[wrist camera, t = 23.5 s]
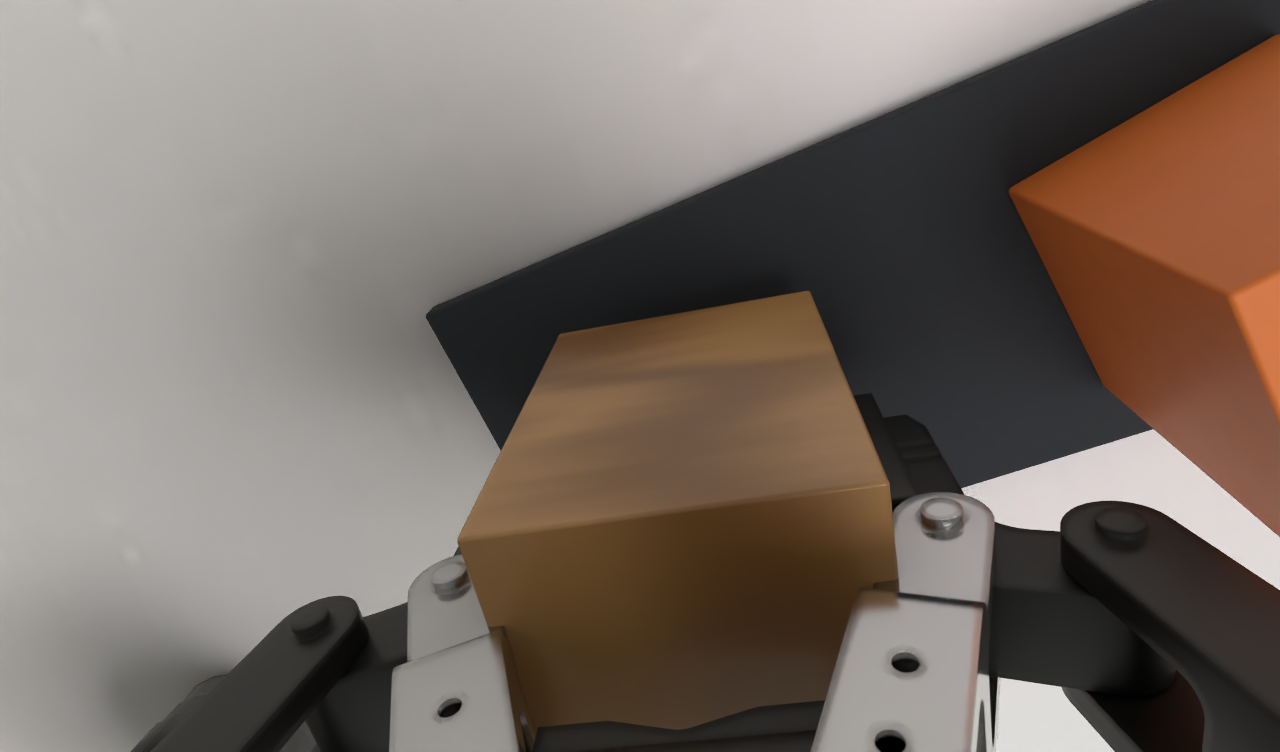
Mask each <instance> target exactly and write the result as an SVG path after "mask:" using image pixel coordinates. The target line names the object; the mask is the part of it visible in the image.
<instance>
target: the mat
mask: <svg viewBox="0 0 1280 752" xmlns="http://www.w3.org/2000/svg"><path fill="white" fill-rule="evenodd" d="M1275 35H1280V0H1153V1H1150V2H1148V3H1146V4H1143V5H1141V6H1139V7H1136V8H1134V9H1132V10H1129V11H1127V12H1125V13H1122V14H1120V15H1117V16H1115V17H1113V18H1110V19H1108V20H1106V21H1103V22H1101V23H1099V24H1096V25H1094V26H1092V27H1089V28H1087V29H1085V30H1082V31H1080V32H1078V33H1075V34H1073V35H1071V36H1068V37H1066V38H1064V39H1061V40H1059V41H1056V42H1054V43H1052V44H1049V45H1047V46H1045V47H1042V48H1040V49H1038V50H1035V51H1033V52H1031V53H1028V54H1026V55H1024V56H1021V57H1019V58H1017V59H1014V60H1012V61H1010V62H1007V63H1005V64H1003V65H1000V66H998V67H995V68H993V69H991V70H988V71H986V72H984V73H981V74H979V75H977V76H974V77H972V78H970V79H967V80H965V81H963V82H960V83H958V84H956V85H953V86H951V87H949V88H946V89H944V90H942V91H939V92H937V93H934V94H932V95H930V96H927V97H925V98H923V99H920V100H918V101H916V102H913V103H911V104H909V105H906V106H904V107H902V108H899V109H897V110H895V111H892V112H890V113H888V114H885V115H883V116H881V117H878V118H876V119H873V120H871V121H869V122H866V123H864V124H862V125H859V126H857V127H855V128H852V129H850V130H848V131H845V132H843V133H841V134H838V135H836V136H834V137H831V138H829V139H827V140H824V141H822V142H820V143H817V144H815V145H812V146H810V147H808V148H805V149H803V150H801V151H798V152H796V153H794V154H791V155H789V156H787V157H784V158H782V159H780V160H777V161H775V162H773V163H770V164H768V165H766V166H763V167H761V168H759V169H756V170H754V171H752V172H749V173H747V174H744V175H742V176H740V177H737V178H735V179H733V180H730V181H728V182H726V183H723V184H721V185H719V186H716V187H714V188H712V189H709V190H707V191H705V192H702V193H700V194H698V195H695V196H693V197H691V198H688V199H686V200H683V201H681V202H679V203H676V204H674V205H672V206H669V207H667V208H665V209H662V210H660V211H658V212H655V213H653V214H651V215H648V216H646V217H644V218H641V219H639V220H637V221H634V222H632V223H630V224H627V225H625V226H622V227H620V228H618V229H615V230H613V231H611V232H608V233H606V234H604V235H601V236H599V237H597V238H594V239H592V240H590V241H587V242H585V243H583V244H580V245H578V246H576V247H573V248H571V249H569V250H566V251H564V252H561V253H559V254H557V255H554V256H552V257H550V258H547V259H545V260H543V261H540V262H538V263H536V264H533V265H531V266H529V267H526V268H524V269H522V270H519V271H517V272H515V273H512V274H510V275H508V276H505V277H503V278H500V279H498V280H496V281H493V282H491V283H489V284H486V285H484V286H482V287H479V288H477V289H475V290H472V291H470V292H468V293H465V294H463V295H461V296H458V297H456V298H454V299H451V300H449V301H447V302H444V303H442V304H439V305H437V306H435V307H433V308H432V309H431V310H430V311H429V312H428V313H427V314H426V319H427V320H428V322H429V324H430V326H431V327H432V329H433V331H434V333H435V335H436V336H437V338H438V340H439V342H440V343H441V345H442V347H443V349H444V350H445V352H446V354H447V356H448V358H449V359H450V361H451V363H452V365H453V366H454V368H455V370H456V372H457V374H458V375H459V377H460V379H461V381H462V382H463V384H464V386H465V388H466V389H467V391H468V393H469V395H470V397H471V398H472V400H473V402H474V404H475V405H476V407H477V409H478V411H479V413H480V414H481V416H482V418H483V420H484V421H485V423H486V425H487V427H488V428H489V430H490V432H491V434H492V436H493V437H494V439H495V441H496V443H497V444H498V446H499V448H500V450H502V448H503V446H504V444H505V442H506V440H507V438H508V436H509V434H510V432H511V430H512V428H513V426H514V424H515V422H516V420H517V418H518V416H519V414H520V412H521V410H522V408H523V406H524V404H525V402H526V400H527V398H528V396H529V394H530V392H531V390H532V388H533V386H534V384H535V382H536V380H537V378H538V376H539V374H540V372H541V370H542V368H543V366H544V364H545V362H546V360H547V358H548V356H549V354H550V352H551V350H552V348H553V346H554V344H555V342H556V340H557V338H558V336H559V335H560V334H562V333H568V332H574V331H580V330H585V329H591V328H597V327H602V326H608V325H614V324H620V323H625V322H631V321H637V320H643V319H648V318H654V317H660V316H665V315H671V314H677V313H683V312H688V311H694V310H700V309H705V308H711V307H717V306H723V305H728V304H734V303H740V302H746V301H751V300H757V299H763V298H768V297H774V296H780V295H786V294H791V293H797V292H803V291H810V293H811V295H812V297H813V300H814V302H815V305H816V307H817V309H818V312H819V314H820V317H821V319H822V321H823V324H824V326H825V329H826V331H827V333H828V336H829V338H830V341H831V343H832V345H833V348H834V350H835V353H836V355H837V358H838V360H839V362H840V365H841V367H842V370H843V372H844V374H845V377H846V379H847V382H848V384H849V386H850V389H851V391H852V394H853V396H855V395H861V394H868V393H872V395H873V397H874V399H875V401H876V403H877V405H878V408H879V410H880V412H881V414H882V416H883V418H885V417H892V416H899V415H905V414H906V415H908V416H909V417H911V418H913V419H915V420H916V421H918V422H920V423H921V424H923V425H925V426H926V428H927V429H928V431H929V433H930V435H931V437H932V438H933V440H934V443H935V444H936V445H937V447H938V449H939V451H940V452H941V455H942V457H943V458H944V459H945V461H946V463H947V465H948V466H949V468H950V470H951V472H952V473H953V475H954V477H955V479H956V481H957V482H958V484H959V486H960V488H963V487H967V486H970V485H973V484H976V483H980V482H983V481H986V480H989V479H993V478H996V477H999V476H1002V475H1006V474H1009V473H1012V472H1015V471H1019V470H1022V469H1025V468H1028V467H1032V466H1035V465H1038V464H1041V463H1045V462H1048V461H1051V460H1054V459H1058V458H1061V457H1064V456H1067V455H1071V454H1074V453H1077V452H1080V451H1084V450H1087V449H1090V448H1093V447H1097V446H1100V445H1103V444H1106V443H1110V442H1113V441H1116V440H1119V439H1123V438H1126V437H1129V436H1132V435H1135V434H1139V433H1142V432H1145V431H1148V430H1152V429H1153V428H1152V427H1151V426H1150V425H1149V424H1147V423H1146V422H1145V421H1144V420H1143V419H1142V418H1140V417H1139V416H1138V415H1137V414H1136V413H1135V412H1133V411H1132V410H1131V409H1130V408H1129V407H1128V406H1126V405H1125V404H1124V403H1123V402H1122V401H1121V400H1119V399H1118V398H1117V397H1116V396H1115V395H1114V394H1112V393H1111V392H1110V391H1109V390H1108V389H1107V388H1105V387H1104V386H1103V384H1102V382H1101V380H1100V378H1099V375H1098V373H1097V371H1096V369H1095V367H1094V365H1093V363H1092V361H1091V359H1090V357H1089V355H1088V353H1087V351H1086V349H1085V347H1084V345H1083V343H1082V341H1081V339H1080V337H1079V335H1078V333H1077V331H1076V329H1075V327H1074V325H1073V323H1072V321H1071V319H1070V317H1069V314H1068V312H1067V310H1066V308H1065V306H1064V304H1063V302H1062V300H1061V298H1060V296H1059V294H1058V292H1057V290H1056V288H1055V286H1054V284H1053V282H1052V280H1051V278H1050V276H1049V274H1048V272H1047V270H1046V268H1045V266H1044V264H1043V262H1042V260H1041V258H1040V256H1039V253H1038V251H1037V249H1036V247H1035V245H1034V243H1033V241H1032V239H1031V237H1030V235H1029V233H1028V231H1027V229H1026V227H1025V225H1024V223H1023V221H1022V219H1021V217H1020V215H1019V213H1018V211H1017V209H1016V207H1015V205H1014V203H1013V201H1012V199H1011V197H1010V195H1009V189H1010V188H1011V187H1012V186H1014V185H1016V184H1018V183H1019V182H1021V181H1023V180H1025V179H1026V178H1028V177H1030V176H1032V175H1033V174H1035V173H1037V172H1038V171H1040V170H1042V169H1044V168H1045V167H1047V166H1049V165H1051V164H1052V163H1054V162H1056V161H1058V160H1059V159H1061V158H1063V157H1065V156H1066V155H1068V154H1070V153H1071V152H1073V151H1075V150H1077V149H1078V148H1080V147H1082V146H1084V145H1085V144H1087V143H1089V142H1091V141H1092V140H1094V139H1096V138H1098V137H1099V136H1101V135H1103V134H1104V133H1106V132H1108V131H1110V130H1111V129H1113V128H1115V127H1117V126H1118V125H1120V124H1122V123H1124V122H1125V121H1127V120H1129V119H1131V118H1132V117H1134V116H1136V115H1137V114H1139V113H1141V112H1143V111H1144V110H1146V109H1148V108H1150V107H1151V106H1153V105H1155V104H1157V103H1158V102H1160V101H1162V100H1163V99H1165V98H1167V97H1169V96H1170V95H1172V94H1174V93H1176V92H1177V91H1179V90H1181V89H1183V88H1184V87H1186V86H1188V85H1190V84H1191V83H1193V82H1195V81H1196V80H1198V79H1200V78H1202V77H1203V76H1205V75H1207V74H1209V73H1210V72H1212V71H1214V70H1216V69H1217V68H1219V67H1221V66H1223V65H1224V64H1226V63H1228V62H1229V61H1231V60H1233V59H1235V58H1236V57H1238V56H1240V55H1242V54H1243V53H1245V52H1247V51H1249V50H1250V49H1252V48H1254V47H1256V46H1257V45H1259V44H1261V43H1262V42H1264V41H1266V40H1268V39H1269V38H1271V37H1273V36H1275Z"/></svg>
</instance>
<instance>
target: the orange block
mask: <svg viewBox="0 0 1280 752" xmlns="http://www.w3.org/2000/svg"><path fill="white" fill-rule="evenodd" d="M1009 195H1010V197H1011V199H1012V201H1013V203H1014V205H1015V207H1016V209H1017V211H1018V213H1019V215H1020V217H1021V219H1022V221H1023V223H1024V225H1025V227H1026V229H1027V231H1028V233H1029V235H1030V237H1031V239H1032V241H1033V243H1034V245H1035V247H1036V249H1037V251H1038V253H1039V256H1040V258H1041V260H1042V262H1043V264H1044V266H1045V268H1046V270H1047V272H1048V274H1049V276H1050V278H1051V280H1052V282H1053V284H1054V286H1055V288H1056V290H1057V292H1058V294H1059V296H1060V298H1061V300H1062V302H1063V304H1064V306H1065V308H1066V310H1067V312H1068V314H1069V317H1070V319H1071V321H1072V323H1073V325H1074V327H1075V329H1076V331H1077V333H1078V335H1079V337H1080V339H1081V341H1082V343H1083V345H1084V347H1085V349H1086V351H1087V353H1088V355H1089V357H1090V359H1091V361H1092V363H1093V365H1094V367H1095V369H1096V371H1097V373H1098V375H1099V378H1100V380H1101V382H1102V384H1103V386H1104V387H1105V388H1107V389H1108V390H1109V391H1110V392H1111V393H1112V394H1114V395H1115V396H1116V397H1117V398H1118V399H1119V400H1121V401H1122V402H1123V403H1124V404H1125V405H1126V406H1128V407H1129V408H1130V409H1131V410H1132V411H1133V412H1135V413H1136V414H1137V415H1138V416H1139V417H1140V418H1142V419H1143V420H1144V421H1145V422H1146V423H1147V424H1149V425H1150V426H1151V427H1152V428H1153V429H1154V430H1156V431H1157V432H1158V433H1159V434H1160V435H1161V436H1163V437H1164V438H1165V439H1166V440H1167V441H1168V442H1170V443H1171V444H1172V445H1173V446H1174V447H1175V448H1177V449H1178V450H1179V451H1180V452H1181V453H1182V454H1184V455H1185V456H1186V457H1187V458H1188V459H1189V460H1191V461H1192V462H1193V463H1194V464H1195V465H1196V466H1198V467H1199V468H1200V469H1201V470H1202V471H1203V472H1205V473H1206V474H1207V475H1208V476H1209V477H1210V478H1212V479H1213V480H1214V481H1215V482H1216V483H1217V484H1219V485H1220V486H1221V487H1222V488H1223V489H1224V490H1225V491H1227V492H1228V493H1229V494H1230V495H1231V496H1232V497H1234V498H1235V499H1236V500H1237V501H1238V502H1239V503H1241V504H1242V505H1243V506H1244V507H1245V508H1246V509H1248V510H1249V511H1250V512H1251V513H1252V514H1253V515H1255V516H1256V517H1257V518H1258V519H1259V520H1260V521H1262V522H1263V523H1264V524H1265V525H1266V526H1267V527H1269V528H1270V529H1271V530H1272V531H1273V532H1274V533H1276V534H1277V535H1278V536H1279V537H1280V35H1275V36H1273V37H1271V38H1269V39H1268V40H1266V41H1264V42H1262V43H1261V44H1259V45H1257V46H1256V47H1254V48H1252V49H1250V50H1249V51H1247V52H1245V53H1243V54H1242V55H1240V56H1238V57H1236V58H1235V59H1233V60H1231V61H1229V62H1228V63H1226V64H1224V65H1223V66H1221V67H1219V68H1217V69H1216V70H1214V71H1212V72H1210V73H1209V74H1207V75H1205V76H1203V77H1202V78H1200V79H1198V80H1196V81H1195V82H1193V83H1191V84H1190V85H1188V86H1186V87H1184V88H1183V89H1181V90H1179V91H1177V92H1176V93H1174V94H1172V95H1170V96H1169V97H1167V98H1165V99H1163V100H1162V101H1160V102H1158V103H1157V104H1155V105H1153V106H1151V107H1150V108H1148V109H1146V110H1144V111H1143V112H1141V113H1139V114H1137V115H1136V116H1134V117H1132V118H1131V119H1129V120H1127V121H1125V122H1124V123H1122V124H1120V125H1118V126H1117V127H1115V128H1113V129H1111V130H1110V131H1108V132H1106V133H1104V134H1103V135H1101V136H1099V137H1098V138H1096V139H1094V140H1092V141H1091V142H1089V143H1087V144H1085V145H1084V146H1082V147H1080V148H1078V149H1077V150H1075V151H1073V152H1071V153H1070V154H1068V155H1066V156H1065V157H1063V158H1061V159H1059V160H1058V161H1056V162H1054V163H1052V164H1051V165H1049V166H1047V167H1045V168H1044V169H1042V170H1040V171H1038V172H1037V173H1035V174H1033V175H1032V176H1030V177H1028V178H1026V179H1025V180H1023V181H1021V182H1019V183H1018V184H1016V185H1014V186H1012V187H1011V188H1010V189H1009Z"/></svg>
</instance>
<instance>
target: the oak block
mask: <svg viewBox="0 0 1280 752" xmlns="http://www.w3.org/2000/svg"><path fill="white" fill-rule="evenodd" d="M457 542H458V545H459V548H460V551H461V554H462V556H463V559H464V562H465V565H466V567H467V570H468V573H469V576H470V579H471V581H472V584H473V587H474V590H475V592H476V595H477V598H478V601H479V604H480V606H481V609H482V612H483V615H484V618H485V620H486V623H487V626H488V627H494V626H503V625H504V627H505V630H506V633H507V636H508V639H509V642H510V645H511V647H512V650H513V653H514V658H515V663H516V668H517V672H518V676H519V679H520V683H521V686H522V690H523V693H524V696H525V699H526V701H527V704H528V707H529V710H530V713H531V716H532V719H533V721H534V724H535V727H536V730H537V729H538V727H545V726H555V725H566V724H577V723H587V722H598V721H614V722H621V723H629V724H636V725H644V726H651V727H659V728H666V729H675V730H681V729H687V728H691V727H694V726H697V725H700V724H703V723H707V722H710V721H713V720H716V719H720V718H723V717H726V716H729V715H732V714H736V713H739V712H742V711H745V710H749V709H752V708H755V707H758V706H769V705H780V704H790V703H801V702H812V701H823V700H826V697H827V693H828V690H829V686H830V683H831V679H832V676H833V672H834V669H835V666H836V662H837V659H838V655H839V652H840V648H841V645H842V641H843V638H844V635H845V631H846V628H847V624H848V621H849V617H850V614H851V610H852V607H853V604H854V600H855V597H856V594H857V592H858V590H859V589H860V588H868V589H872V588H873V585H874V583H875V582H884V581H892V580H896V579H898V577H899V574H898V564H897V554H896V544H895V533H894V523H893V513H892V503H891V493H890V483H889V480H888V478H887V476H886V473H885V471H884V468H883V466H882V464H881V461H880V459H879V456H878V454H877V452H876V449H875V447H874V444H873V442H872V439H871V437H870V435H869V432H868V430H867V427H866V425H865V423H864V420H863V418H862V415H861V413H860V411H859V408H858V406H857V403H856V401H855V399H854V396H853V394H852V391H851V389H850V386H849V384H848V382H847V379H846V377H845V374H844V372H843V370H842V367H841V365H840V362H839V360H838V358H837V355H836V353H835V350H834V348H833V345H832V343H831V341H830V338H829V336H828V333H827V331H826V329H825V326H824V324H823V321H822V319H821V317H820V314H819V312H818V309H817V307H816V305H815V302H814V300H813V297H812V295H811V293H810V291H803V292H797V293H791V294H786V295H780V296H774V297H768V298H763V299H757V300H751V301H746V302H740V303H734V304H728V305H723V306H717V307H711V308H705V309H700V310H694V311H688V312H683V313H677V314H671V315H665V316H660V317H654V318H648V319H643V320H637V321H631V322H625V323H620V324H614V325H608V326H602V327H597V328H591V329H585V330H580V331H574V332H568V333H562V334H560V335H559V336H558V338H557V340H556V342H555V344H554V346H553V348H552V350H551V352H550V354H549V356H548V358H547V360H546V362H545V364H544V366H543V368H542V370H541V372H540V374H539V376H538V378H537V380H536V382H535V384H534V386H533V388H532V390H531V392H530V394H529V396H528V398H527V400H526V402H525V404H524V406H523V408H522V410H521V412H520V414H519V416H518V418H517V420H516V422H515V424H514V426H513V428H512V430H511V432H510V434H509V436H508V438H507V440H506V442H505V444H504V446H503V448H502V450H501V452H500V454H499V456H498V458H497V460H496V462H495V464H494V466H493V468H492V470H491V472H490V474H489V476H488V478H487V480H486V482H485V484H484V486H483V488H482V490H481V492H480V494H479V496H478V498H477V500H476V502H475V504H474V506H473V508H472V510H471V512H470V514H469V516H468V518H467V520H466V522H465V524H464V526H463V528H462V530H461V532H460V534H459V536H458V539H457Z"/></svg>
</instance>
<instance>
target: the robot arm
mask: <svg viewBox="0 0 1280 752" xmlns="http://www.w3.org/2000/svg"><path fill="white" fill-rule="evenodd" d="M854 399H855V401H856V403H857V406H858V408H859V411H860V413H861V415H862V418H863V420H864V423H865V425H866V427H867V430H868V432H869V435H870V437H871V439H872V442H873V444H874V447H875V449H876V452H877V454H878V456H879V459H880V461H881V464H882V466H883V468H884V471H885V473H886V476H887V478H888V480H889V483H890V493H891V503H892V513H893V523H894V533H895V544H896V554H897V564H898V574H899V577H898V579H896V580H892V581H884V582H875V583H874V585H873V588H872V589H868V588H860V589H859V590H858V592H857V594H856V597H855V600H854V604H853V607H852V610H851V614H850V617H849V621H848V624H847V628H846V631H845V635H844V638H843V641H842V645H841V648H840V652H839V655H838V659H837V662H836V666H835V669H834V672H833V676H832V679H831V683H830V686H829V690H828V693H827V697H826V700H823V701H812V702H801V703H790V704H780V705H769V706H758V707H755V708H752V709H749V710H745V711H742V712H739V713H736V714H732V715H729V716H726V717H723V718H720V719H716V720H713V721H710V722H707V723H703V724H700V725H697V726H694V727H691V728H687V729H681V730H675V729H666V728H659V727H651V726H644V725H636V724H629V723H621V722H614V721H598V722H587V723H577V724H566V725H555V726H545V727H538V729H537V730H536V727H535V724H534V721H533V719H532V716H531V713H530V710H529V707H528V704H527V701H526V699H525V696H524V693H523V690H522V686H521V683H520V679H519V676H518V672H517V668H516V663H515V658H514V653H513V650H512V647H511V645H510V642H509V639H508V636H507V633H506V630H505V627H504V625H503V626H494V627H488V626H487V623H486V620H485V618H484V615H483V612H482V609H481V606H480V604H479V601H478V598H477V595H476V592H475V590H474V587H473V584H472V581H471V579H470V576H469V573H468V570H467V567H466V565H465V562H464V559H463V556H462V554H461V551H460V548H459V546H458V548H457V550H456V552H455V554H454V556H453V557H449V558H447V559H444V560H442V561H440V562H438V563H435V564H434V565H432V566H430V567H429V568H427V569H426V570H425V571H423V572H422V573H421V574H420V575H419V576H418V577H417V578H416V579H415V580H414V581H413V583H412V585H411V586H410V589H409V591H408V602H407V603H404V604H401V605H399V606H396V607H393V608H390V609H387V610H384V611H381V612H378V613H375V614H372V615H369V616H366V617H364V618H363V617H362V614H361V612H360V610H359V607H358V605H357V603H356V602H355V601H354V600H353V599H352V598H349V597H345V596H332V597H327V598H323V599H319V600H316V601H313V602H311V603H309V604H307V605H305V606H303V607H301V608H299V609H297V610H296V611H294V612H293V613H291V614H290V615H288V616H287V617H286V618H284V619H283V620H282V621H281V622H280V623H279V624H278V625H277V626H276V627H275V628H274V629H273V630H272V631H271V632H270V633H269V634H268V635H267V636H266V637H265V638H264V639H263V640H262V641H261V642H260V643H259V644H258V645H257V646H256V647H255V648H254V649H253V650H252V651H251V652H250V653H249V654H248V655H247V656H246V657H245V658H244V659H243V660H242V661H241V662H240V663H239V664H238V665H237V666H236V667H235V668H234V669H233V670H232V671H231V672H230V673H229V674H228V675H227V676H226V677H225V678H224V679H223V680H222V681H221V682H220V683H219V684H218V685H217V686H216V687H215V688H214V689H213V690H212V691H211V692H210V693H209V694H208V695H207V696H206V697H205V698H204V699H203V700H202V701H201V702H200V703H199V704H198V705H197V706H196V707H195V708H194V709H193V710H192V711H191V712H190V713H189V714H188V715H187V716H186V717H185V718H184V719H183V720H182V721H181V722H180V723H179V724H178V725H177V726H176V727H175V728H174V729H173V730H172V731H171V732H170V733H169V734H168V735H167V736H166V737H165V738H164V739H163V740H161V741H160V742H159V743H158V744H157V745H156V746H155V747H154V748H153V749H152V750H151V751H150V752H279V751H280V750H281V749H282V748H283V747H284V745H285V744H286V743H287V742H288V741H289V739H290V738H291V737H292V736H293V735H294V733H295V732H296V731H297V730H298V729H299V727H300V726H301V725H302V724H303V723H304V721H305V722H306V724H307V726H308V727H309V729H310V731H311V733H312V735H313V737H314V739H315V741H316V743H317V744H316V746H315V747H314V748H313V749H312V751H311V752H996V748H997V729H998V711H999V692H1000V677H1001V678H1007V679H1014V680H1021V681H1027V682H1034V683H1041V684H1047V685H1054V686H1061V687H1062V689H1063V691H1064V693H1065V695H1066V697H1067V698H1068V699H1069V701H1070V702H1071V703H1072V704H1073V705H1074V706H1075V707H1076V709H1077V710H1078V711H1079V712H1080V713H1081V714H1082V715H1083V716H1084V718H1085V719H1086V720H1087V721H1088V722H1089V723H1090V724H1091V725H1092V726H1093V728H1094V729H1095V730H1096V731H1097V732H1098V733H1099V734H1100V735H1101V737H1102V738H1103V739H1104V740H1105V741H1106V742H1107V743H1108V744H1109V745H1110V747H1111V748H1112V749H1113V750H1114V751H1115V752H1280V590H1278V589H1277V588H1275V587H1274V586H1272V585H1271V584H1269V583H1268V582H1266V581H1265V580H1263V579H1262V578H1260V577H1259V576H1257V575H1256V574H1254V573H1253V572H1251V571H1250V570H1248V569H1247V568H1245V567H1244V566H1242V565H1241V564H1239V563H1238V562H1236V561H1235V560H1233V559H1232V558H1230V557H1229V556H1227V555H1226V554H1224V553H1223V552H1221V551H1220V550H1218V549H1217V548H1215V547H1214V546H1212V545H1211V544H1209V543H1208V542H1206V541H1205V540H1203V539H1202V538H1200V537H1199V536H1197V535H1196V534H1194V533H1193V532H1191V531H1190V530H1188V529H1187V528H1185V527H1184V526H1182V525H1181V524H1179V523H1177V522H1176V521H1174V520H1173V519H1171V518H1170V517H1168V516H1167V515H1165V514H1163V513H1161V512H1159V511H1157V510H1155V509H1152V508H1149V507H1146V506H1143V505H1139V504H1135V503H1129V502H1122V501H1098V502H1091V503H1086V504H1083V505H1080V506H1077V507H1075V508H1073V509H1071V510H1070V511H1068V512H1067V513H1066V514H1065V515H1064V517H1063V518H1062V520H1061V526H1060V532H1058V531H1043V530H1030V529H1020V528H1015V527H1010V526H1006V525H1003V524H999V523H997V522H994V516H993V513H992V512H991V510H990V509H989V508H988V507H987V506H986V505H985V504H983V503H982V502H980V501H978V500H976V499H974V498H972V497H969V496H966V495H964V493H963V491H962V489H961V488H960V486H959V484H958V482H957V481H956V479H955V477H954V475H953V473H952V472H951V470H950V468H949V466H948V465H947V463H946V461H945V459H944V458H943V457H942V455H941V452H940V451H939V449H938V447H937V445H936V444H935V443H934V440H933V438H932V437H931V435H930V433H929V431H928V429H927V428H926V426H925V425H923V424H921V423H920V422H918V421H916V420H915V419H913V418H911V417H909V416H908V415H906V414H905V415H899V416H892V417H885V418H883V416H882V414H881V412H880V410H879V408H878V405H877V403H876V401H875V399H874V397H873V395H872V393H868V394H861V395H855V396H854Z"/></svg>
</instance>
